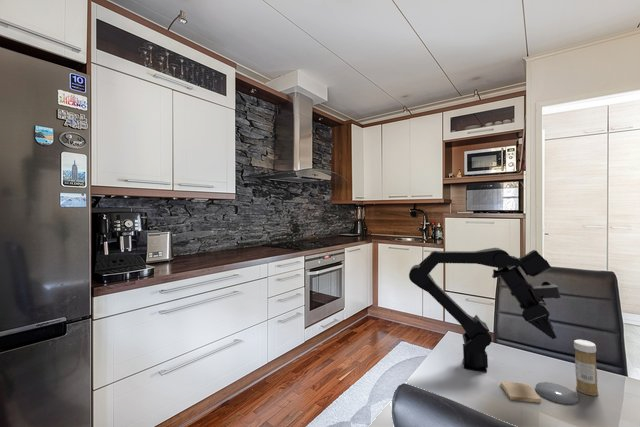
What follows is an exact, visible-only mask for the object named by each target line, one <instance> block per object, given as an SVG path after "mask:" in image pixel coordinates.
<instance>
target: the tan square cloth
mask: <svg viewBox="0 0 640 427" xmlns="http://www.w3.org/2000/svg"><path fill="white" fill-rule="evenodd" d="M500 386H501V387H502V389H503V390H504V392H505V394H506V395H507V396H508V398H509V400H510V401H517V402H519V401H520V402H526V403H528V402H530V403H539V404H541V403H542V399H541V397H540V396H539V395H538V394H537V393H536V391H535V390H534V389H533V388H532V386H531V385H530V384H529V383H525V382H511V381H500Z"/></svg>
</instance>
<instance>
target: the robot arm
mask: <svg viewBox="0 0 640 427" xmlns="http://www.w3.org/2000/svg"><path fill="white" fill-rule="evenodd" d="M438 264H466V265H467V264H470V265H471V264H472V265H473V264H476V265H480V266H481V265H482V266H486V267H491V268H497V269H492V276H491V277H492V278H493V279H496V278H498V277H499V278H500V279H501V280H502V282H503V283H504V285H505V286H506V288H507V289H508V290H509V292H510V295H511V296H512V297H514V299H515V300H516V301H517V303H518V304H519V307H520V309H522V310H521V317H523V319H524V320H525V321H526V322H527V323H528V324H530V325H532V326H533V327H535V328H536V329H537V330H539V331H541V332H542V333H543V334H545V335H546V336H547V337H549V338H550V339H552V340H555V339H558V338H557V335H556V333H555V331H554V327H553V324H552V322H551V320H550V318H549V317H550V315H551V313H550V311H549V309H548V308H547V304H546V300H545V299H561V298H562V296H561V293H560V291H559V287H558V285H557V284H551V283H550V282H549V281H548V280H544V281H541V283H540V284H539V285H537V286H534V285H533V284H532V283H531V282H528V280H527V278H526V277H531V278H535V277H537V276H540V275H542V274H543V273H546V272H548V271H551V269H552V267H551V265H550V263H549V262H548V260H547V259H545V258H544V257H543V256H542V255H541V254H540V253H539V252H538V251H537V250H535V249H532V250H531V251H529V252H528V253H526V254H524V255H521V256H520V257H516V256H515V255H513V256H512V255H510V254H509V253H508V252H507V251H506V250H504V249H503V248H500V247H492V248H491V247H490V248H484V249H480V250H479V249H478V250H476V251H474V250H473V251H464V250H463V251H458V250H456V251H453V250H452V251H451V250H449V251H445V250H444V251H439V250H433V251H431V252H430V253H429V255H427V256H426V257H425V258H424V259H423V260H422V261H421V262H419V264H415V265H413V266H412V267H411V268H410V271H409V272H408V278H409V280H410V281H411V283H413V284H414V285H415V286H416V287H418V288H419V289H421V290H422V291H423V290H424V291H425V292H426V293H428V294H429V295H430V296H431V297H432V298H433V299H434V300H436V302H437V303H438V304H439V305H440V306H441V307H442V308H443V309H445V311H447V313H449V314H450V316H452V318H454V320H456V322H458V323H459V325H460V326H461V327H462V328H463V330H464V333H463V334H462V340H463V343H462V357H463V358H462V363H463V370H470V371H475V372H476V371H477V372H482V373H483V372H484V373H487V372H488V368H489V360H488V353H487V351H486V349H487V347H488V346H490V345H491V344H492V341H493V339H492V335H491V333H490V329H489V326H488V325H487V323H486V322H484V321H483V320H482V319H481V318H480V317H479V316H478V315H477V314H475V315H474V317H473V316H471V315H470V314H469V313H467V312H466V311H465V310H464V309H463V308H462V307H461V306H460V305H459V304H458V303H457V302H456V301H455V300H453V298H451V297H450V295H449V294H447V292H445V291H444V290H443V289H442V288H441V287H440V286H439V285H438V283H436V282H435V280H434V278H433V277H432V275H431V272H432V271H433V270H434V268H436V266H438ZM508 266H509V267H508ZM519 269H520V270H519ZM523 274H524V275H523Z"/></svg>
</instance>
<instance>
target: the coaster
mask: <svg viewBox="0 0 640 427" xmlns="http://www.w3.org/2000/svg"><path fill="white" fill-rule="evenodd" d="M535 392H537V393H538V394H539V395H540V396H541V397H543V398H545V399H547V400H549V401H552V402H555V403H557V404H562V405H575V404H577V403H579V396H578V395H577V393H576V392H574V390H571V389H570V388H569V387H566V386H564V385H560V384H559V383H555V382H554V383H553V382H547V381H541V382H538V383H536V384H535Z"/></svg>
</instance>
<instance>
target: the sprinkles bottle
mask: <svg viewBox="0 0 640 427" xmlns="http://www.w3.org/2000/svg"><path fill="white" fill-rule="evenodd" d="M573 349H574V356H575V358H574V366H575V377H576V379H575V380H576V385H575V386H576V389H577V391H579V392H580V393H582V394H584V395H586V396H593V397H594V396H598V395H599V391H598V390H599V389H598V371H597V360H596V359H597V358H596V355H597V354H596V353H597V345H596V344H595V343H594V342H592V341H589V340H585V339H575V340H573Z"/></svg>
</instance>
